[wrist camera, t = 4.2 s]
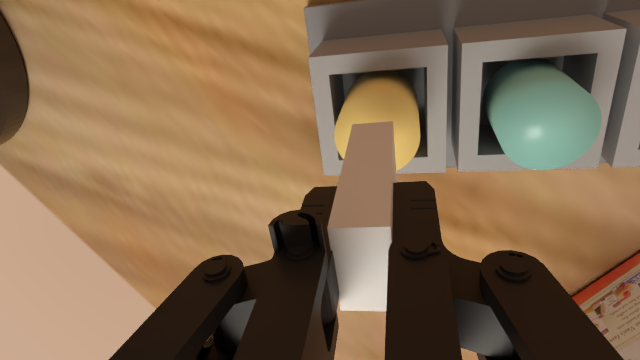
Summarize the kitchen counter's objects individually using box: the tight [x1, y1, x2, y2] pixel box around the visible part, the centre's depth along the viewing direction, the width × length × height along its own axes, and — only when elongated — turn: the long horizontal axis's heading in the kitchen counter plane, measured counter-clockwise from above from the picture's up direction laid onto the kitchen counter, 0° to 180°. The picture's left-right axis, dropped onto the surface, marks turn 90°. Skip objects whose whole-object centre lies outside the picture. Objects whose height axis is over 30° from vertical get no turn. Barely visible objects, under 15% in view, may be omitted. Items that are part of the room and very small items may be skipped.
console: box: [304, 0, 640, 176], centre depth 21 cm, size 22×10×5 cm, turn 98°
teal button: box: [483, 58, 602, 170], centre depth 19 cm, size 4×4×4 cm
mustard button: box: [334, 70, 420, 171], centre depth 20 cm, size 4×4×4 cm
